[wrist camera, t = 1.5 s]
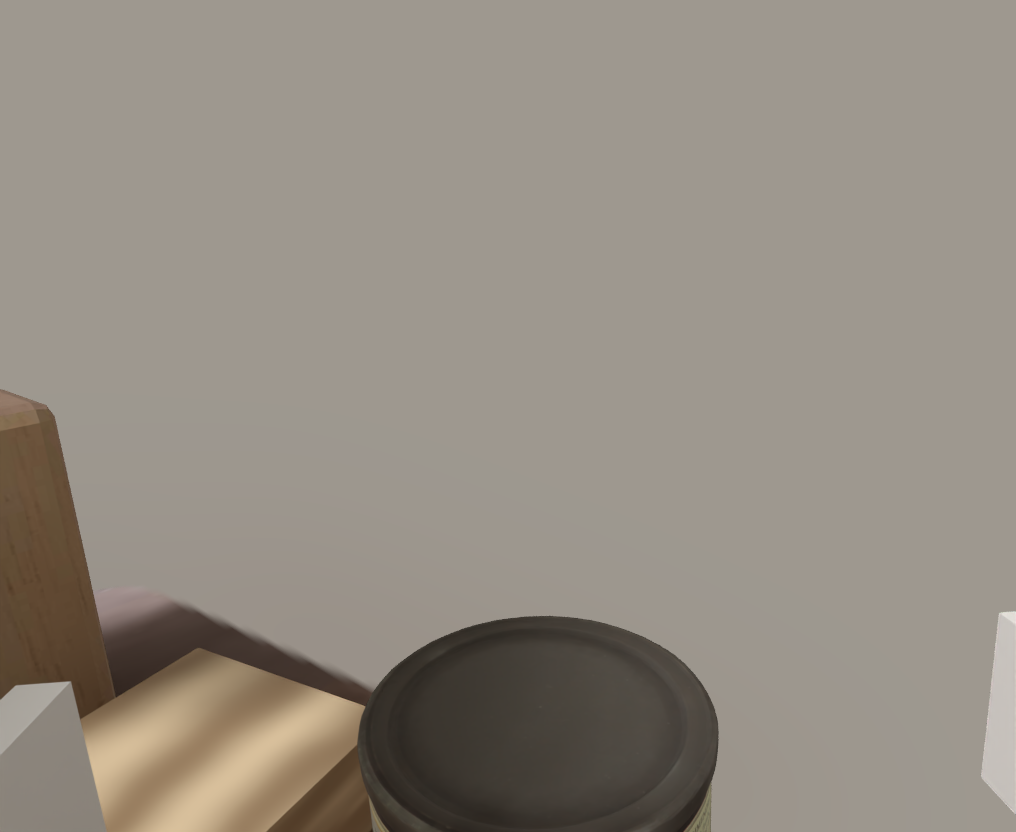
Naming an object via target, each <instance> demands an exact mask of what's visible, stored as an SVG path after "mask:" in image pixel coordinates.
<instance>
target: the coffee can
mask: <svg viewBox="0 0 1016 832" xmlns="http://www.w3.org/2000/svg"><path fill="white" fill-rule="evenodd" d="M357 747H358V758H359V764H360V769H361V774H362V778H363V782H364V785H365V788H366V791H367V793H368V796H369V804H370V811H371V819H372V827H373V832H711V781H712V777H713V774H714V771H715V766H716V761H717V752H718V721H717V717H716V713H715V709H714V706H713V704H712V702H711V699H710V697H709V696H708V693H707V692H706V690H705V689H704V687H703V685H702V684H701V682H700V681H699V680H698V678H697V677H696V676H695V674H694V673H693V672H692V671H691V670H690V669H689V668H688V667H687V666H686V665H685V664H684V663H683V662H682V661H681V660H680V659H678V658H677V657H676V656H675V655H674V654H672V653H671V652H669V651H668V650H666V649H664V648H662V647H661V646H660V645H658V644H656V643H654V642H652V641H650V640H648V639H646V638H644V637H642V636H639V635H637V634H635V633H632V632H630V631H627V630H624V629H621V628H618V627H615V626H611V625H608V624H605V623H600V622H596V621H592V620H584V619H578V618H570V617H554V616H538V617H537V616H536V617H535V616H534V617H519V618H510V619H502V620H496V621H491V622H487V623H482V624H478V625H474V626H471V627H468V628H464V629H461V630H459V631H456V632H454V633H451V634H449V635H446V636H444V637H441V638H439V639H437V640H435V641H433V642H431V643H429V644H427V645H426V646H424V647H422V648H421V649H419V650H417V651H416V652H414V653H413V654H411V655H410V656H408V657H407V658H406V659H404V660H403V661H402V662H400V663H399V664H398V665H397V666H396V667H394V668H393V669H392V670H391V671H390V672H389V673H388V674H387V676H385V677H384V679H383V680H382V681H381V682H380V683H379V685H378V686H377V687H376V689H375V690H374V692H373V693H372V695H371V697H370V699H369V701H368V703H367V705H366V707H365V709H364V711H363V714H362V716H361V721H360V725H359V732H358V741H357Z"/></svg>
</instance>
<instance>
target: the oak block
mask: <svg viewBox="0 0 1016 832" xmlns="http://www.w3.org/2000/svg"><path fill="white" fill-rule="evenodd" d="M365 707H366V706H363V705H360V704H358V703H355V702H352V701H349V700H346V699H343V698H340V697H338V696H335V695H332V694H329V693H326V692H323V691H321V690H318V689H315V688H312V687H309V686H306V685H303V684H301V683H298V682H295V681H292V680H289V679H286V678H284V677H281V676H278V675H275V674H272V673H269V672H266V671H264V670H261V669H258V668H255V667H252V666H249V665H247V664H244V663H241V662H238V661H235V660H232V659H229V658H227V657H224V656H221V655H218V654H215V653H212V652H210V651H207V650H204V649H201V648H197V649H195V650H193V651H192V652H190V653H188V654H187V655H185V656H183V657H182V658H180V659H179V660H177V661H175V662H174V663H172V664H170V665H169V666H167V667H165V668H164V669H162V670H160V671H159V672H157V673H156V674H154V675H152V676H151V677H149V678H147V679H146V680H144V681H142V682H141V683H139V684H137V685H136V686H134V687H133V688H131V689H129V690H128V691H126V692H124V693H123V694H121V695H119V696H118V697H116V698H115V699H113V700H111V701H110V702H108V703H106V704H105V705H103V706H101V707H100V708H98V709H96V710H95V711H93V712H92V713H90V714H88V715H87V716H85V717H83V718H82V719H80V722H81V726H82V730H83V734H84V738H85V743H86V747H87V751H88V755H89V759H90V764H91V768H92V772H93V776H94V780H95V784H96V789H97V793H98V797H99V801H100V805H101V810H102V814H103V818H104V822H105V826H106V830H107V832H370V831H371V829H372V828H373V827H372V819H371V811H370V804H369V796H368V793H367V791H366V788H365V785H364V782H363V778H362V774H361V769H360V764H359V758H358V747H357V741H358V732H359V725H360V721H361V716H362V714H363V711H364V709H365Z"/></svg>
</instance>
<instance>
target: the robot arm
mask: <svg viewBox="0 0 1016 832" xmlns="http://www.w3.org/2000/svg"><path fill="white" fill-rule="evenodd" d="M981 778H982V779H983V780H984V781H985V782H986V783H987V784H988V785H989V787H990V788H991V789H992V790H993V791H994V792H995V793H996V794H997V795H998V796H999V797H1000V798H1001V799H1002V801H1003V802H1004V803H1005V804H1006V805H1007V806H1008V807H1009V808H1010V809H1011V810H1012V811H1013V812H1014V813H1015V815H1016V612H1002V613H999V619H998V628H997V637H996V646H995V655H994V664H993V674H992V682H991V692H990V701H989V710H988V719H987V728H986V737H985V746H984V755H983V765H982V774H981ZM0 832H107V830H106V826H105V822H104V818H103V814H102V810H101V805H100V801H99V797H98V793H97V789H96V784H95V780H94V776H93V772H92V768H91V764H90V759H89V755H88V751H87V747H86V743H85V738H84V734H83V730H82V726H81V722H80V718H79V713H78V709H77V705H76V701H75V697H74V692H73V688H72V684H71V681H69V682H56V683H42V684H29V685H16V686H15V687H14V688H12V689H11V690H10V691H9V692H8V693H7V694H6V695H5V696H4V697H3V698H2V699H1V700H0Z"/></svg>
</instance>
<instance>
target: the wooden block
mask: <svg viewBox="0 0 1016 832" xmlns="http://www.w3.org/2000/svg"><path fill="white" fill-rule="evenodd" d="M69 681H71V684H72V688H73V692H74V697H75V701H76V705H77V709H78V713H79V718H80V719H82V718H83V717H85V716H87V715H88V714H90V713H92V712H93V711H95V710H96V709H98V708H100V707H101V706H103V705H105V704H106V703H108V702H110V701H111V700H113V699H115V698H116V695H115V691H114V686H113V681H112V677H111V672H110V668H109V663H108V659H107V654H106V649H105V645H104V640H103V636H102V631H101V627H100V622H99V617H98V613H97V608H96V604H95V599H94V595H93V590H92V586H91V581H90V576H89V572H88V567H87V563H86V558H85V554H84V549H83V544H82V540H81V535H80V531H79V526H78V521H77V517H76V512H75V508H74V504H73V499H72V495H71V489H70V485H69V481H68V476H67V471H66V467H65V462H64V457H63V453H62V448H61V444H60V439H59V435H58V430H57V425H56V421H55V417H54V415H53V414H52V413H51V411H50V410H49V409H48V407H47V406H46V405H44V404H41V403H38V402H35V401H33V400H30V399H27V398H24V397H21V396H19V395H16V394H13V393H10V392H7V391H5V390H0V700H1V699H2V698H3V697H4V696H5V695H6V694H7V693H8V692H9V691H10V690H11V689H12V688H14V687H15V686H16V685H29V684H42V683H56V682H69Z"/></svg>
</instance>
